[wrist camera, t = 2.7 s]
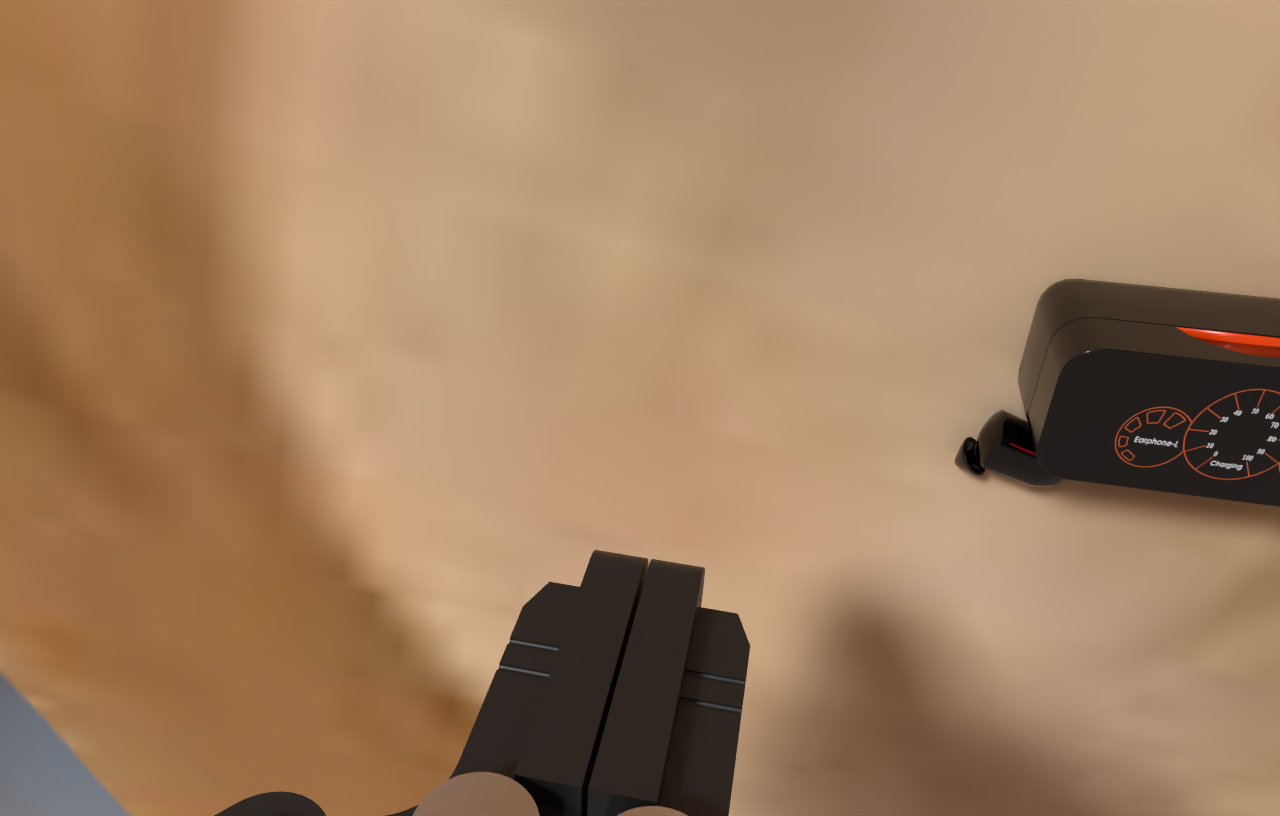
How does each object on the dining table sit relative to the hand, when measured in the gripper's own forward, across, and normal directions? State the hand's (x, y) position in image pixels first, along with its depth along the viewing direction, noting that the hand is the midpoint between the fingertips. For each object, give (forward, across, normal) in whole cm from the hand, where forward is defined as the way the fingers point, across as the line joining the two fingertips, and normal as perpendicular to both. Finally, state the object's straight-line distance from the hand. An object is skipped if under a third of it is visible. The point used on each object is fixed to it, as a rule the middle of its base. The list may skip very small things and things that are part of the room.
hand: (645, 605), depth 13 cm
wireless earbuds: (+10, -9, 0) cm, 13 cm away
